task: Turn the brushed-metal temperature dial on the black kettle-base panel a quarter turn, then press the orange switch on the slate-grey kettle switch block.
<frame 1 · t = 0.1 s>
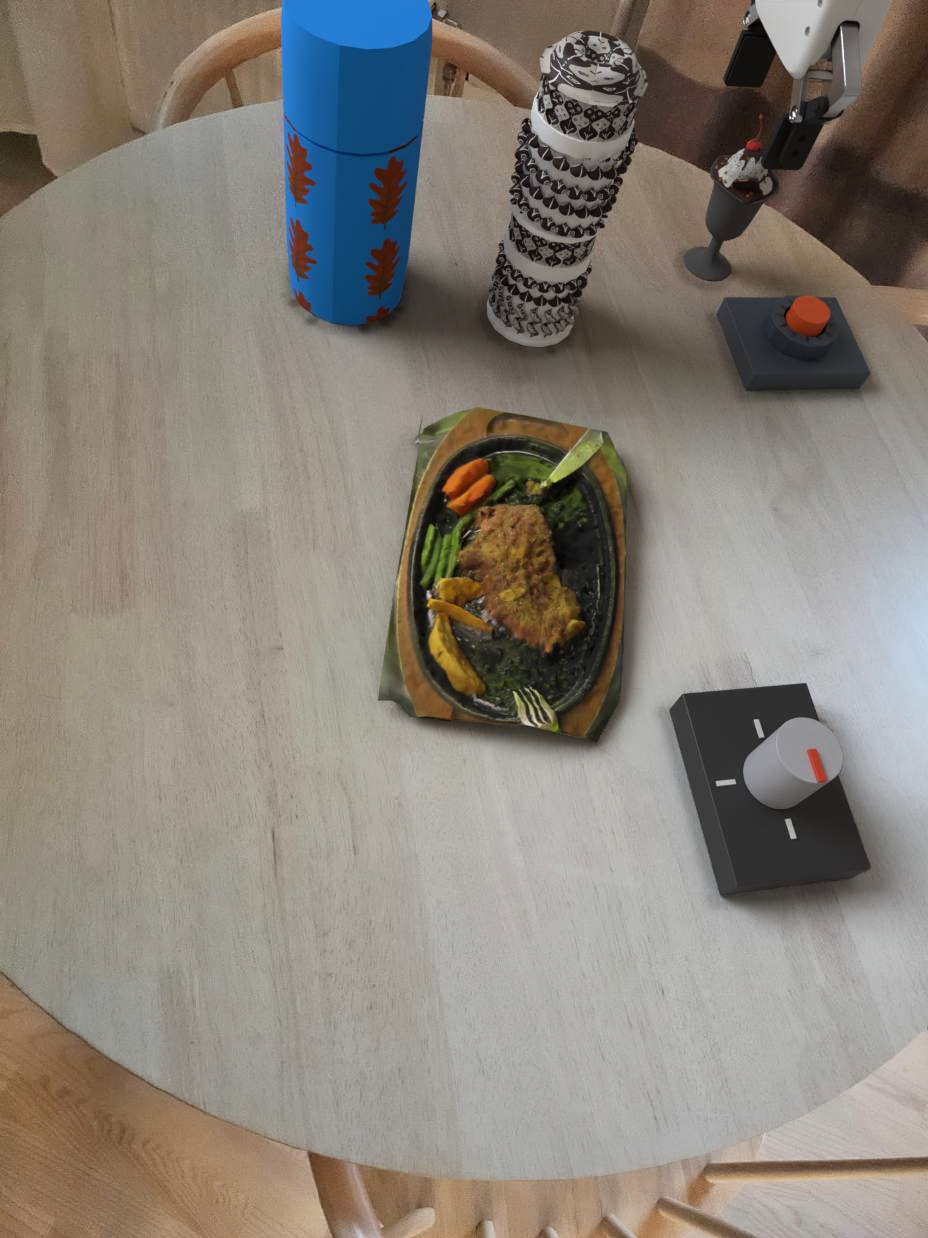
hand: (760, 124, 71), 22 cm above the table, tool pointing down, fingers open, 9 cm apart
sundae: (705, 265, 97), on the table
thermos: (346, 285, 88), on the table
switch block: (786, 351, 92), on the table
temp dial: (792, 763, 64), point 6 cm above the table, hinge at 0.0°
prepared meal: (510, 571, 76), on the table
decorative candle: (530, 316, 90), on the table
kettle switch: (807, 316, 89), point 4 cm above the table, slide at 0.1 cm
dial panel: (756, 791, 69), on the table
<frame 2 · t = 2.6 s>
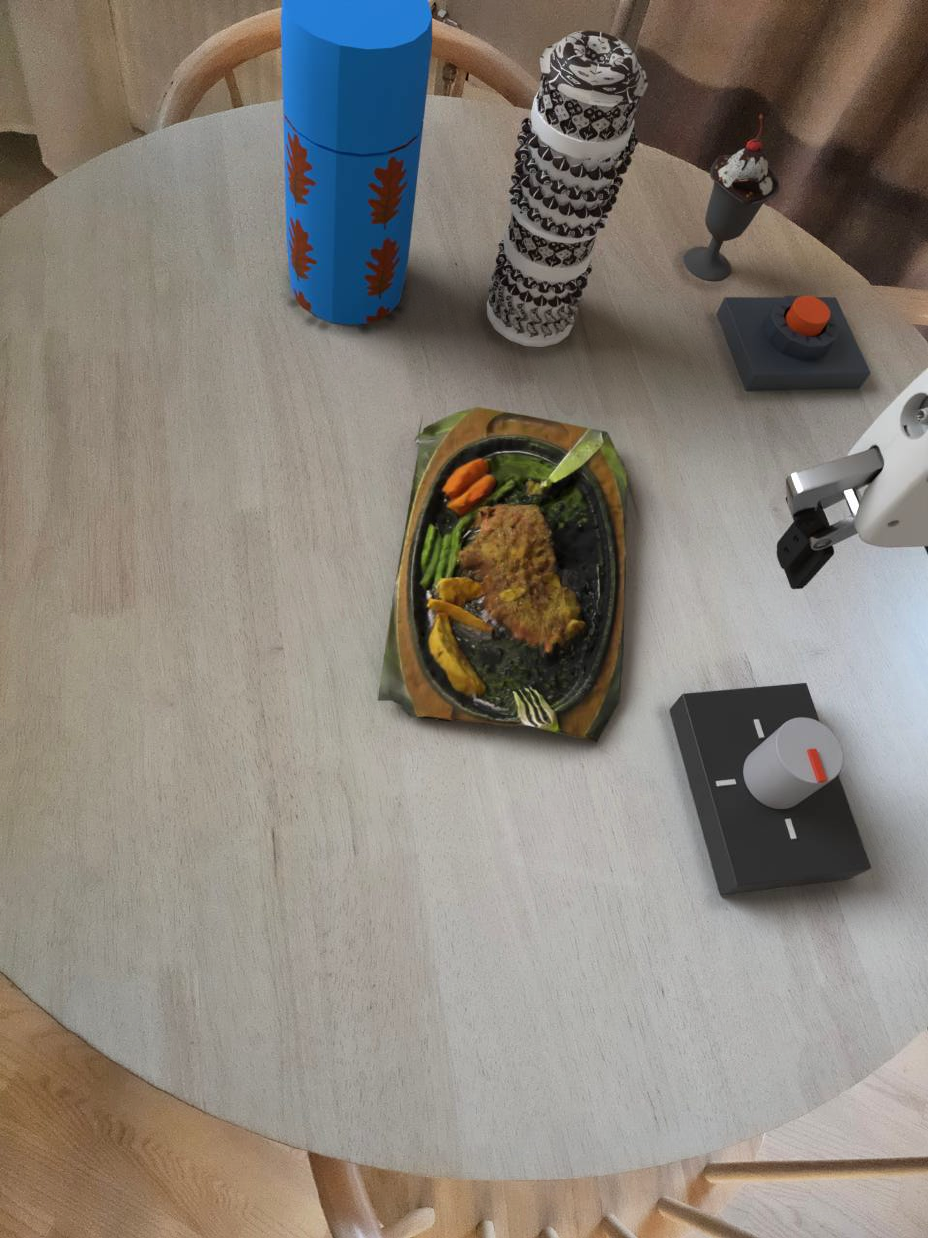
hand: (862, 563, 56), 19 cm above the table, tool pointing down, fingers open, 9 cm apart
nothing on the table moved.
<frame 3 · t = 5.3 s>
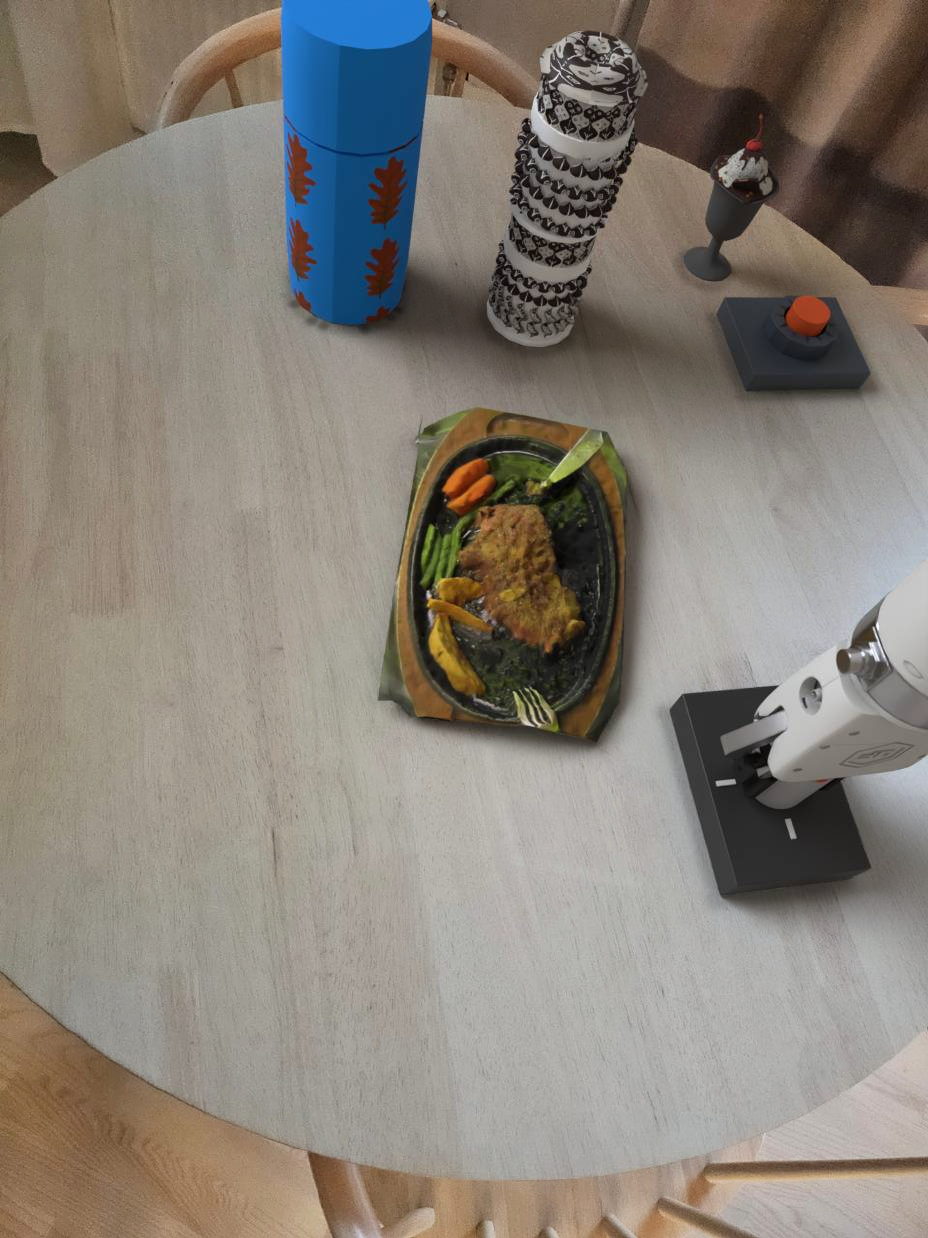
hand: (780, 773, 66), 4 cm above the table, tool pointing down, fingers closed on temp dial, 4 cm apart
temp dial: (792, 763, 64), point 6 cm above the table, hinge at -0.1°, touching gripper
everything else where it was.
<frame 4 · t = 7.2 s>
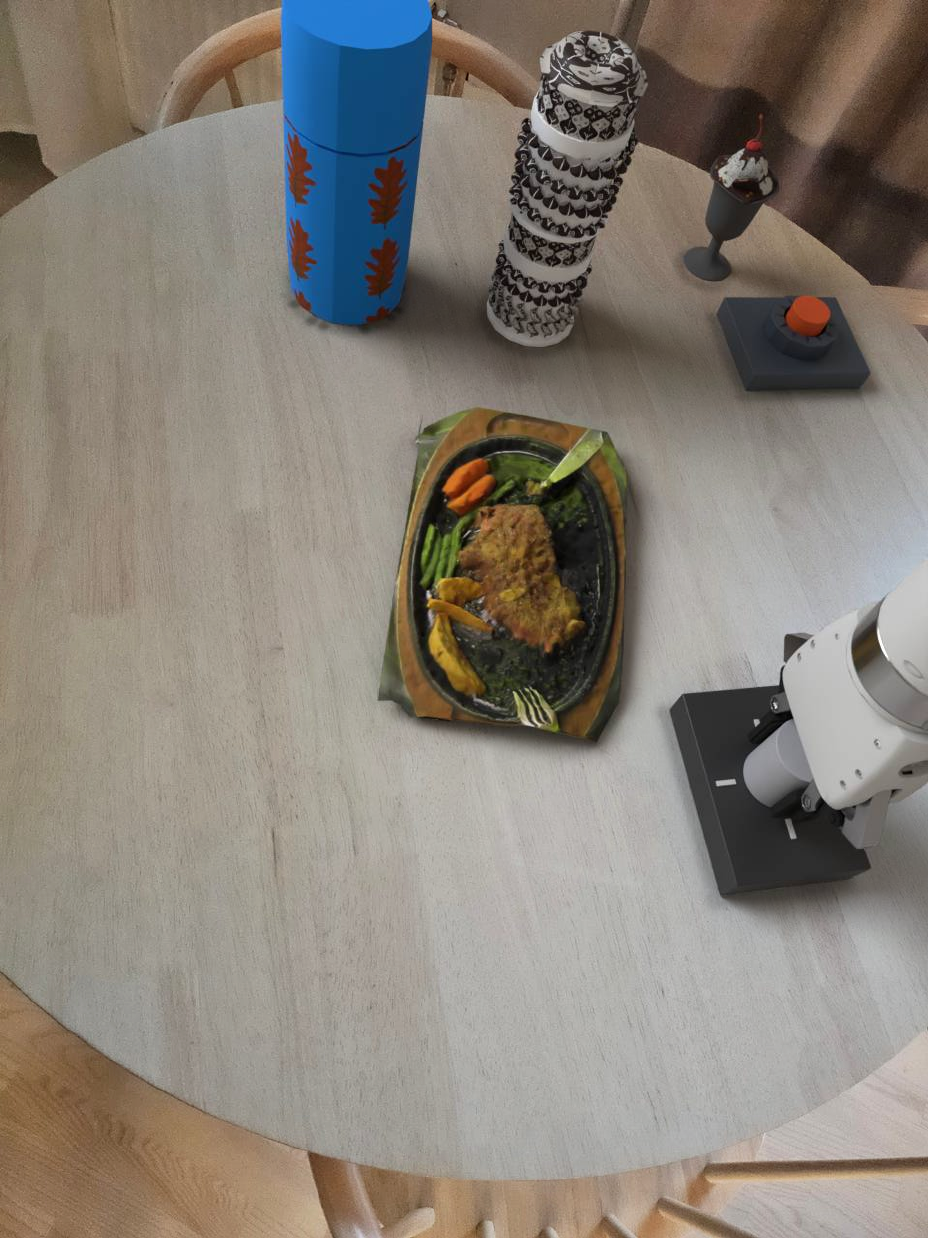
hand: (779, 773, 66), 4 cm above the table, tool pointing down, fingers closed on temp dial, 4 cm apart
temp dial: (792, 763, 64), point 6 cm above the table, hinge at 90.5°, touching gripper
everything else where it was.
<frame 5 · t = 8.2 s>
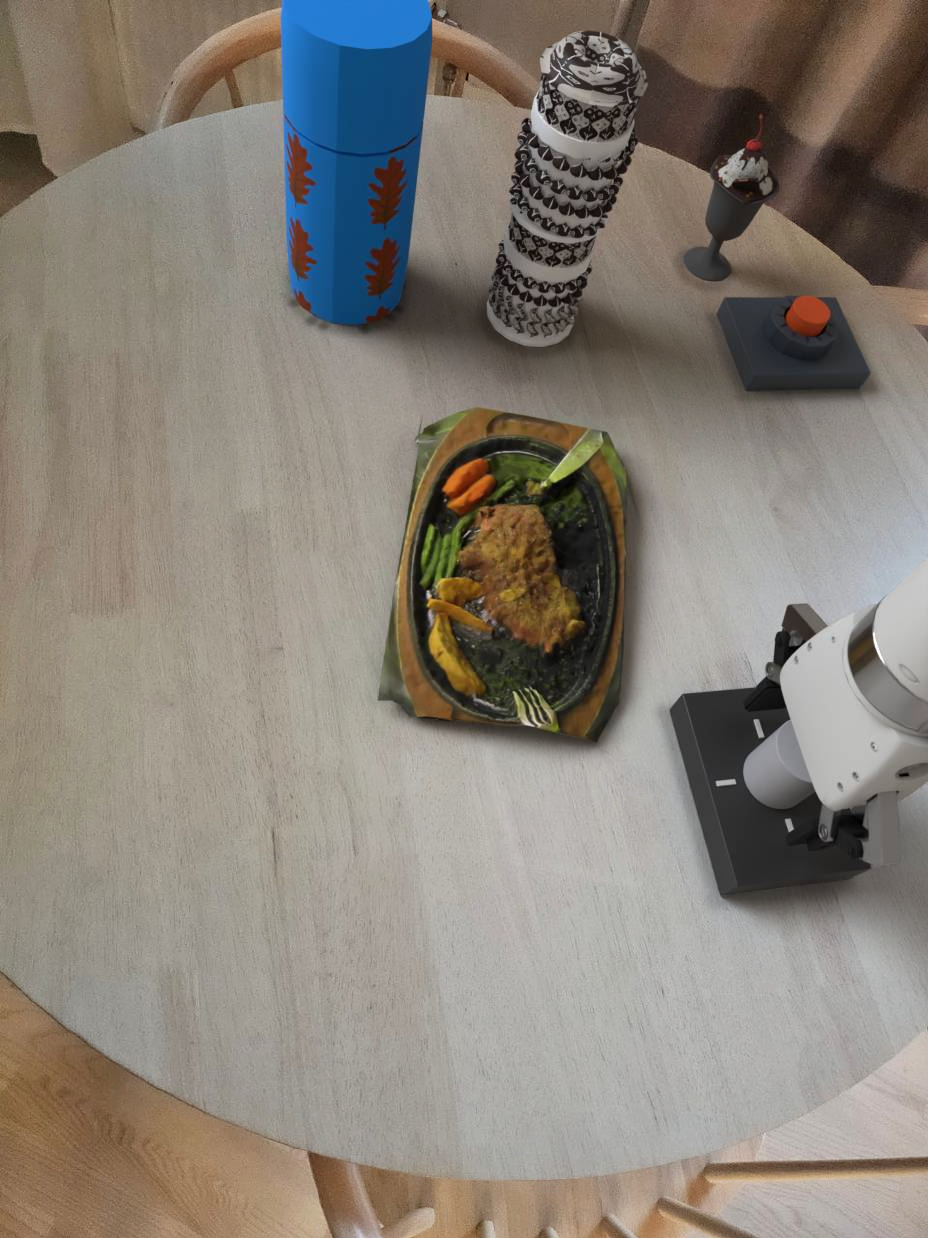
hand: (783, 770, 65), 5 cm above the table, tool pointing down, fingers open, 9 cm apart
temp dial: (792, 763, 64), point 6 cm above the table, hinge at 92.5°
everything else where it was.
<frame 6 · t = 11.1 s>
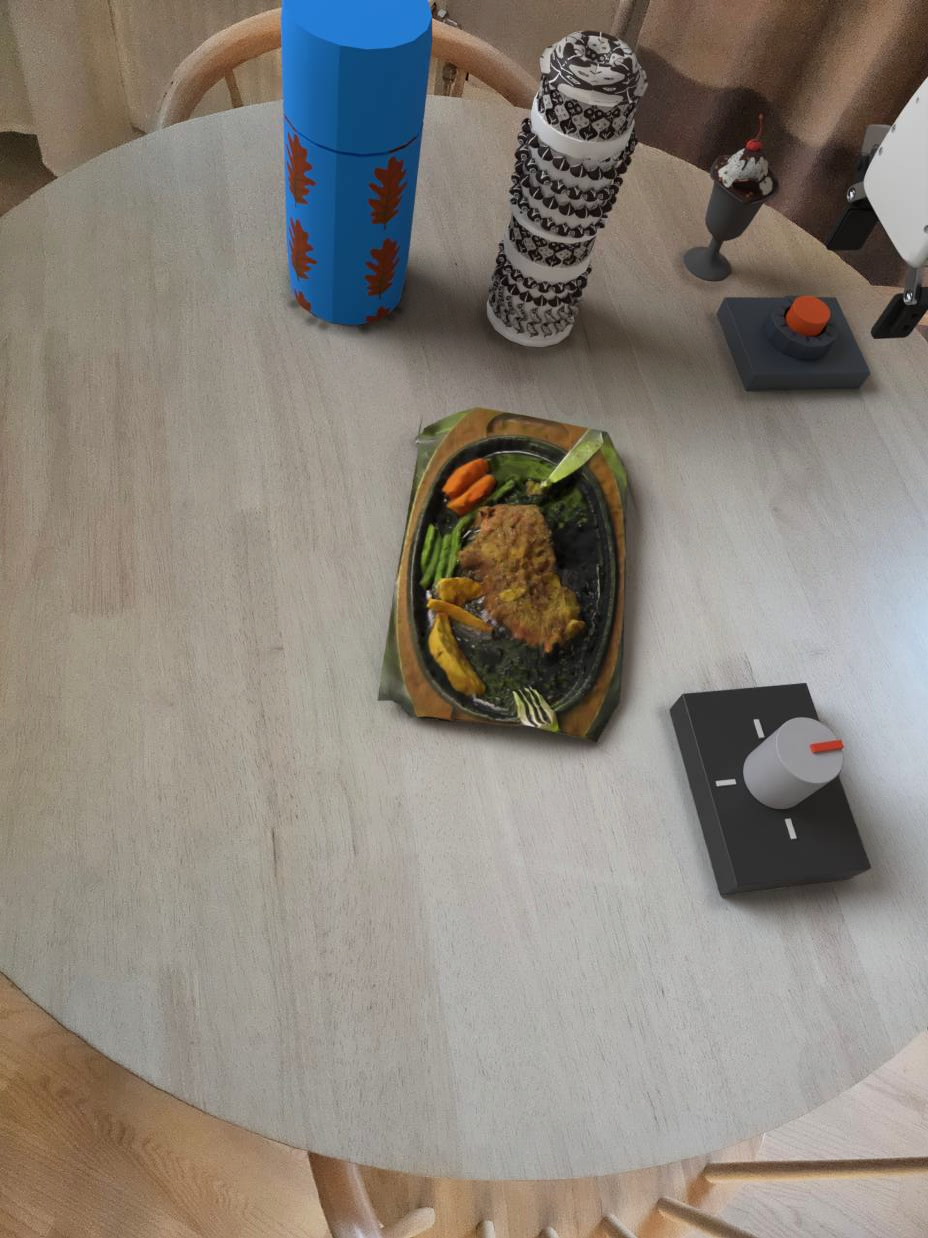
hand: (864, 290, 75), 15 cm above the table, tool pointing down, fingers open, 9 cm apart
nothing on the table moved.
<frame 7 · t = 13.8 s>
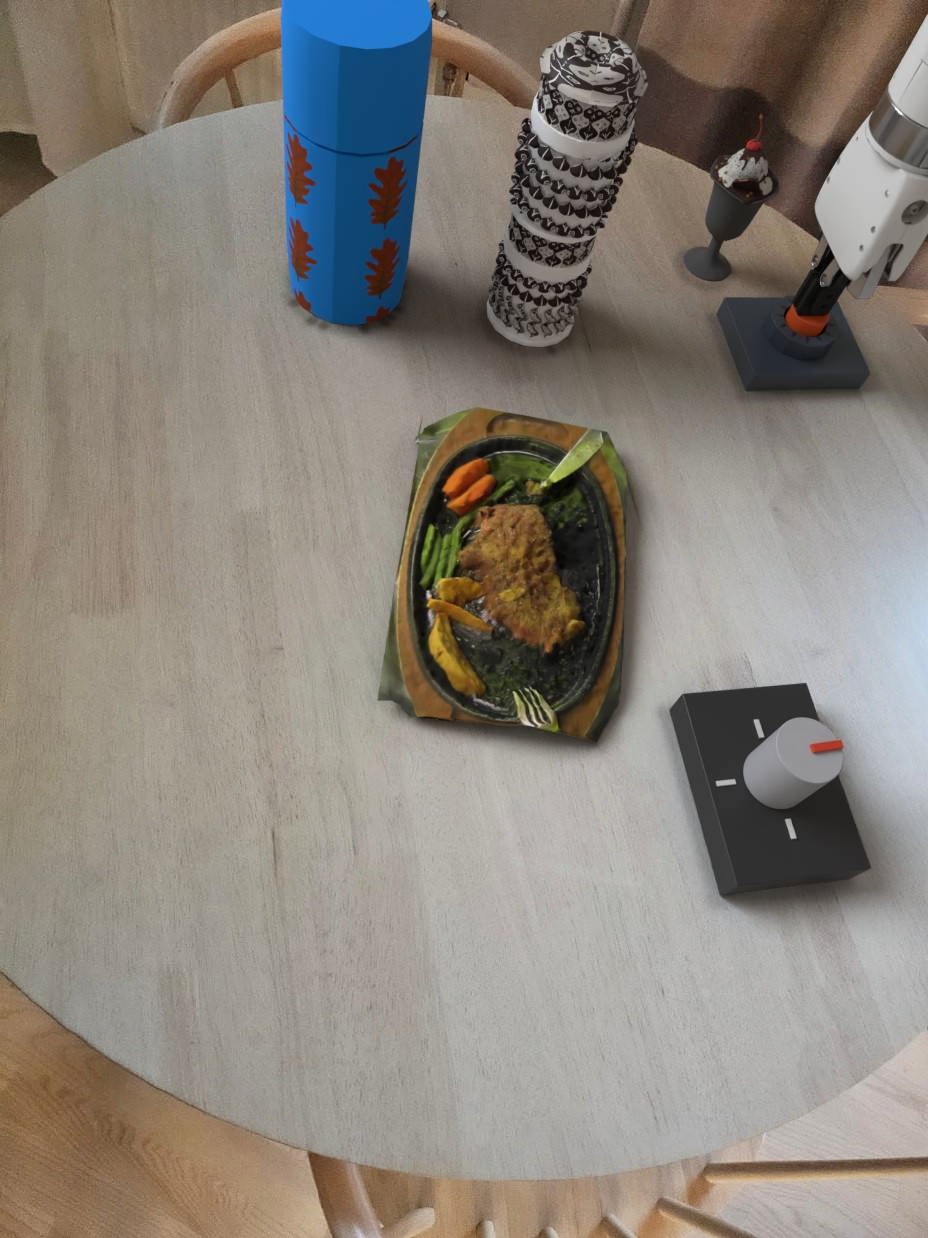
hand: (809, 309, 88), 5 cm above the table, tool pointing down, fingers closed
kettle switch: (807, 317, 89), point 4 cm above the table, slide at 0.0 cm, touching gripper
everything else where it was.
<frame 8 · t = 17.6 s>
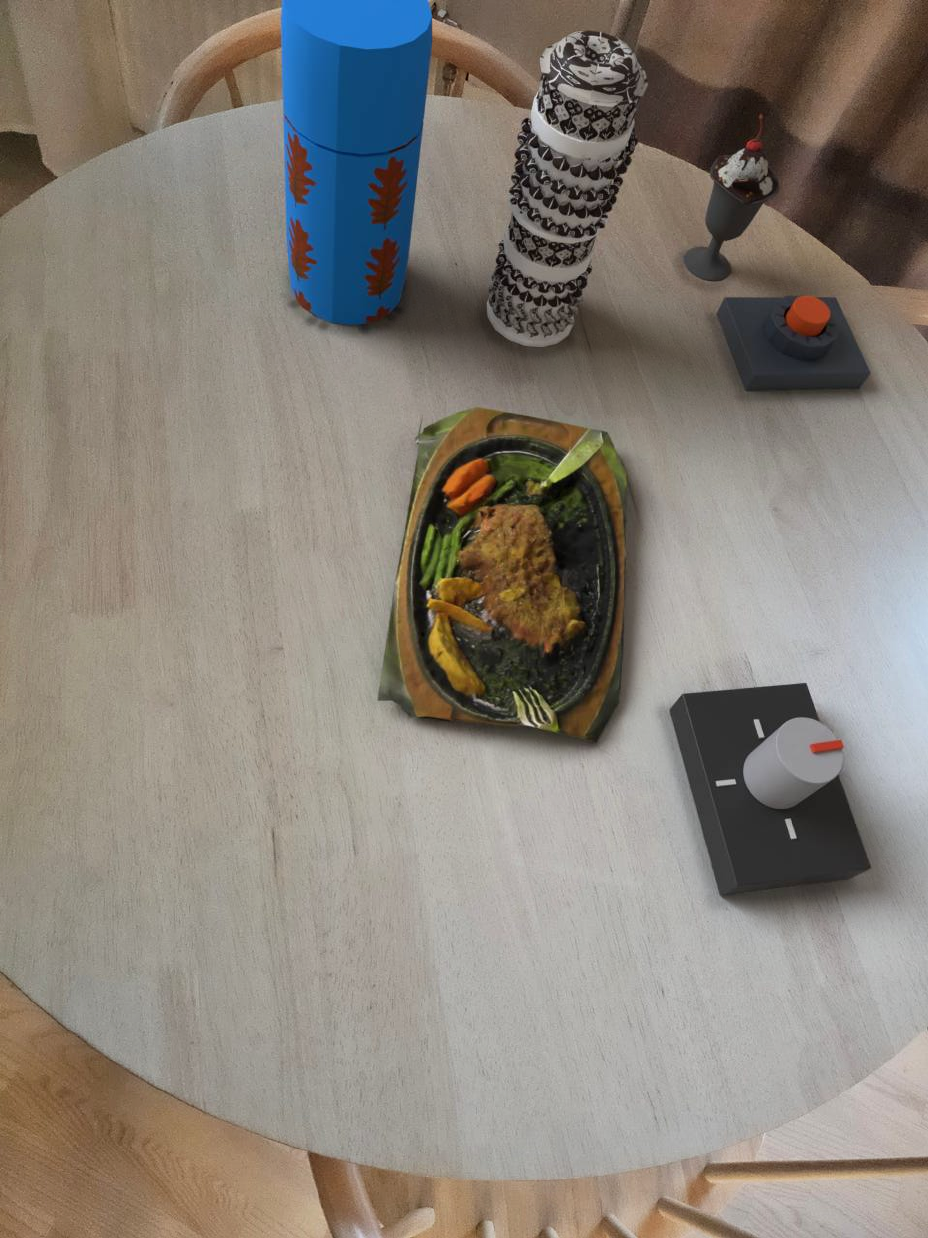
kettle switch: (807, 316, 89), point 4 cm above the table, slide at 0.1 cm
everything else where it was.
at the end: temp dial at +92° (first picture: +0°); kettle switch pushed in 1.1 cm at the most during the clip, back to where it started at the end; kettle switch slide at 0.1 cm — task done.
